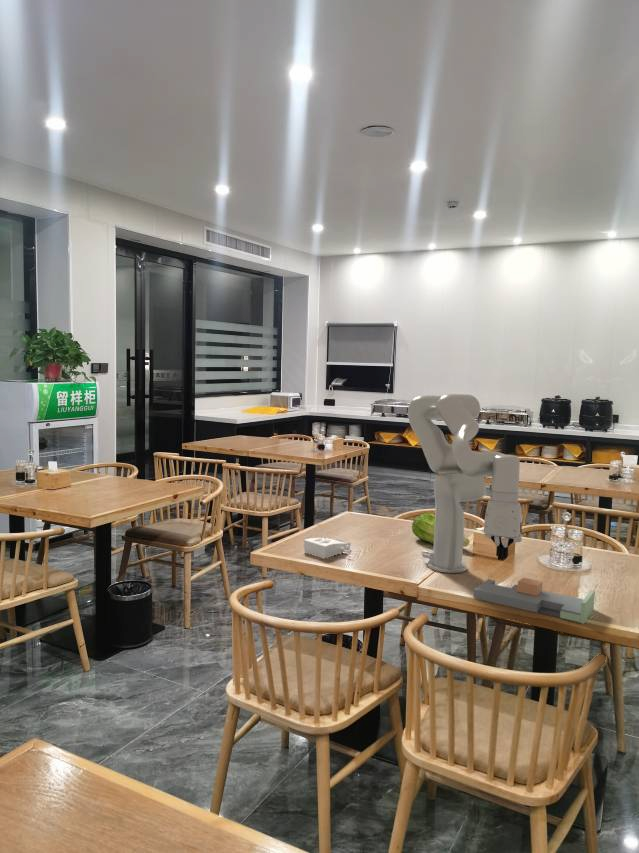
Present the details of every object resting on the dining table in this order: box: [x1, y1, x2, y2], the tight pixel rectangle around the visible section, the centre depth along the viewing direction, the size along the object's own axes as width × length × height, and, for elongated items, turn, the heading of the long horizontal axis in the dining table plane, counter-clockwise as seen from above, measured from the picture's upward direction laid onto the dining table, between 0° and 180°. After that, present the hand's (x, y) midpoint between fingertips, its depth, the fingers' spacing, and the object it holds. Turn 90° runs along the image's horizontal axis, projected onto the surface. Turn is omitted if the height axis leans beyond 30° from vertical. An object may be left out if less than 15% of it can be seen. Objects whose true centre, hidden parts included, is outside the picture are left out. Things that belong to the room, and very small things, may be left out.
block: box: [517, 577, 544, 596], centre depth 183 cm, size 6×6×3 cm
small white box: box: [303, 533, 352, 559], centre depth 224 cm, size 8×20×16 cm
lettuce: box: [411, 512, 470, 548], centre depth 239 cm, size 12×24×13 cm
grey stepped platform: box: [472, 578, 596, 624], centre depth 180 cm, size 30×13×6 cm, turn 56°
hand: (501, 559), depth 187 cm, fingers closed
